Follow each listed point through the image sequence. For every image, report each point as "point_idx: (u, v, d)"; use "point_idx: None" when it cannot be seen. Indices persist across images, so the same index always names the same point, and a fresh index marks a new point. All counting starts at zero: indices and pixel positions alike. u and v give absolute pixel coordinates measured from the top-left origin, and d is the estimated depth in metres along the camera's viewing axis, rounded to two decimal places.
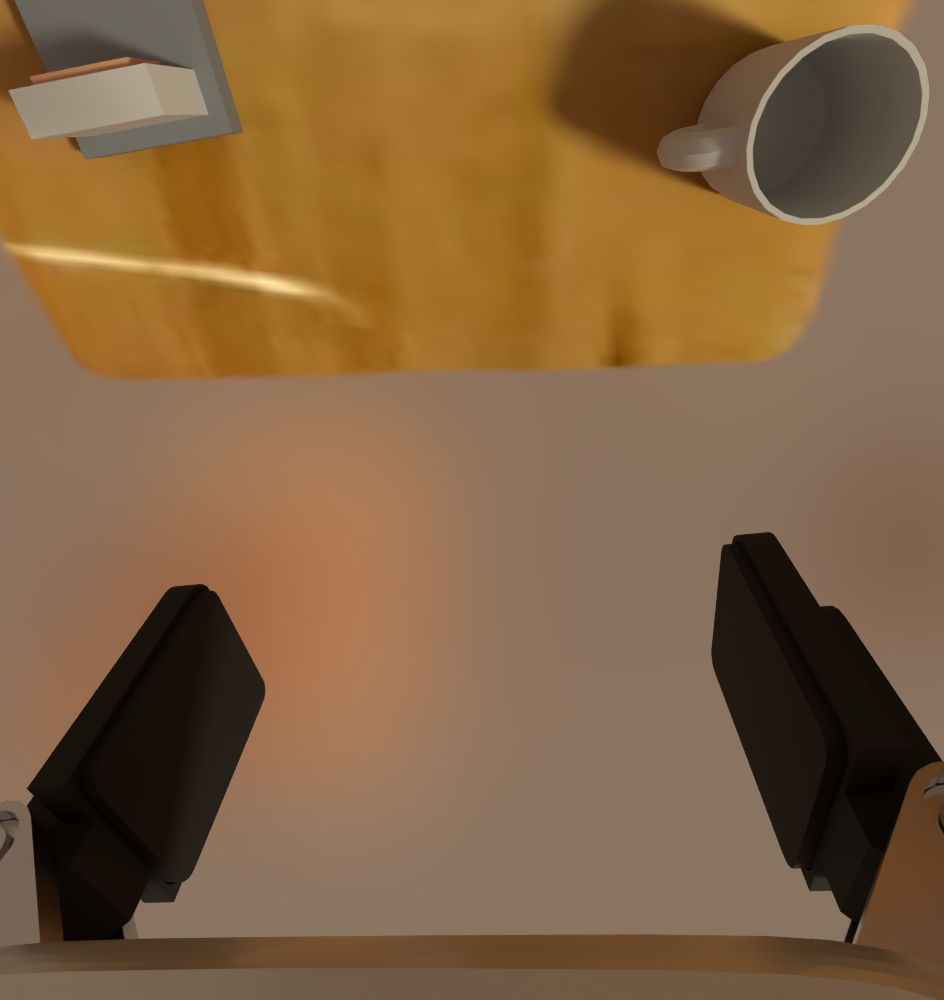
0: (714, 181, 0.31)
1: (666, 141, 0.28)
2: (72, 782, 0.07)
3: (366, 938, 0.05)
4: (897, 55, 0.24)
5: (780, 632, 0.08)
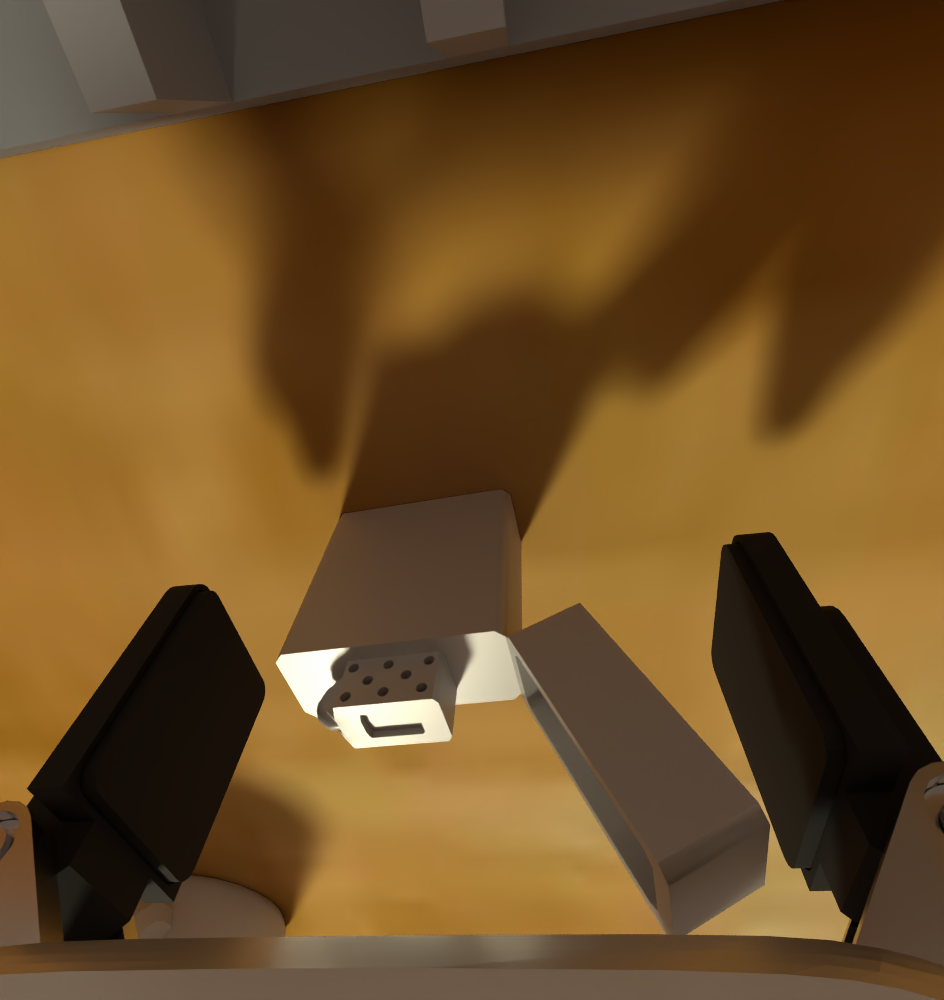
0: None
1: None
2: (72, 782, 0.07)
3: (365, 938, 0.05)
4: None
5: (780, 632, 0.08)
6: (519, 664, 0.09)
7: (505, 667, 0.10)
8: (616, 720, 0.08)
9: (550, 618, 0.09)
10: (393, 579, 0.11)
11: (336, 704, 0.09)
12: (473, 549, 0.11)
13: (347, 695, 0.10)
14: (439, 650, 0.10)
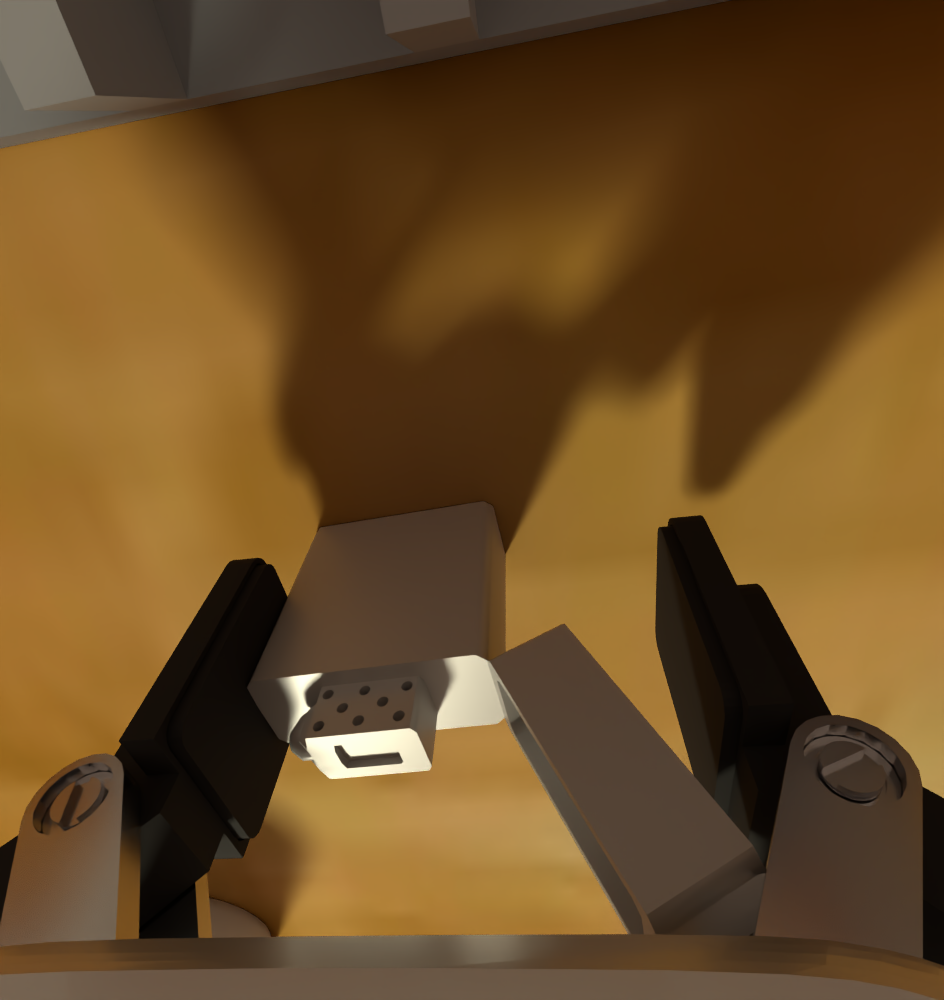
0: None
1: None
2: (160, 735, 0.08)
3: (366, 938, 0.05)
4: None
5: (697, 604, 0.08)
6: (501, 689, 0.09)
7: (487, 691, 0.09)
8: (602, 753, 0.07)
9: (533, 640, 0.09)
10: (371, 598, 0.11)
11: (309, 734, 0.09)
12: (453, 565, 0.11)
13: (320, 724, 0.09)
14: (418, 675, 0.09)
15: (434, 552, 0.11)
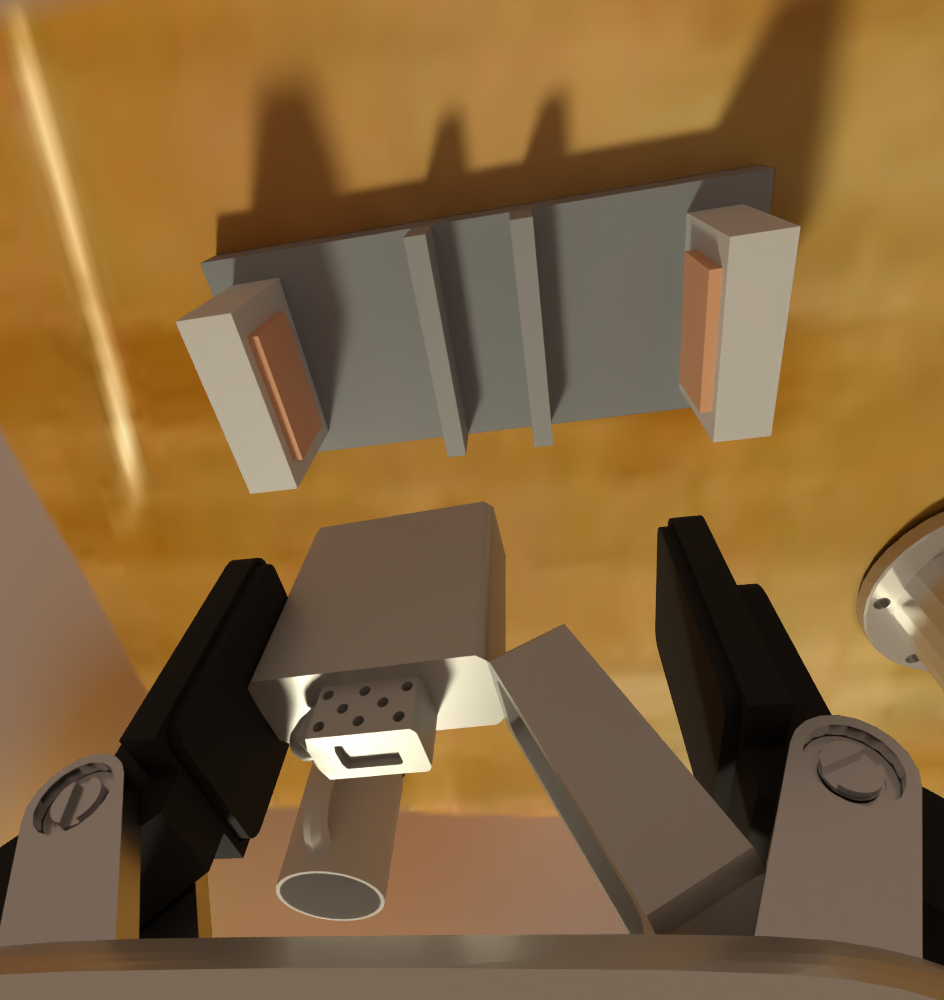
0: None
1: (324, 789, 0.38)
2: (160, 735, 0.08)
3: (365, 937, 0.05)
4: (376, 898, 0.40)
5: (697, 604, 0.08)
6: (501, 689, 0.09)
7: (487, 692, 0.09)
8: (602, 754, 0.07)
9: (533, 641, 0.09)
10: (371, 598, 0.11)
11: (309, 735, 0.09)
12: (454, 566, 0.11)
13: (321, 724, 0.09)
14: (417, 675, 0.09)
15: (434, 553, 0.11)
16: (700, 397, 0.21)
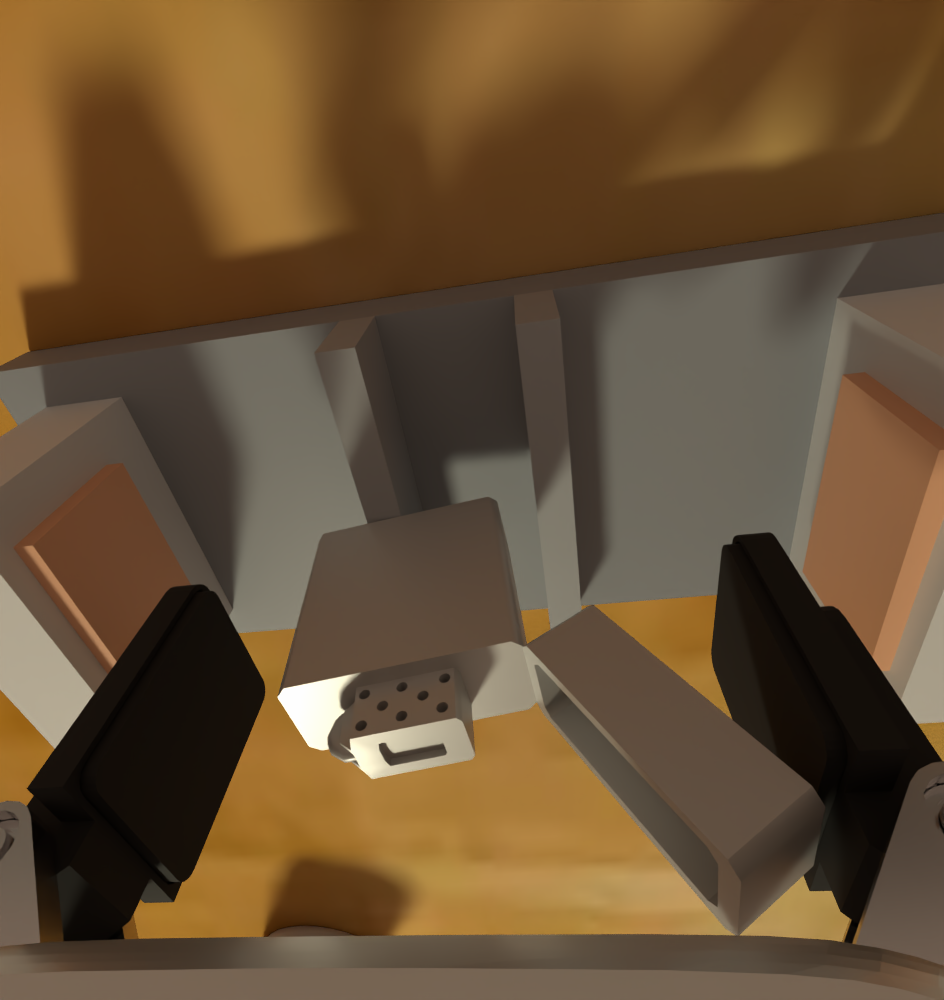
0: None
1: None
2: (72, 782, 0.07)
3: (365, 937, 0.05)
4: None
5: (780, 632, 0.08)
6: (538, 672, 0.09)
7: (521, 677, 0.10)
8: (655, 719, 0.08)
9: (566, 623, 0.09)
10: (393, 597, 0.11)
11: (352, 734, 0.09)
12: (470, 559, 0.11)
13: (362, 723, 0.09)
14: (454, 666, 0.09)
15: (448, 548, 0.12)
16: (872, 649, 0.11)
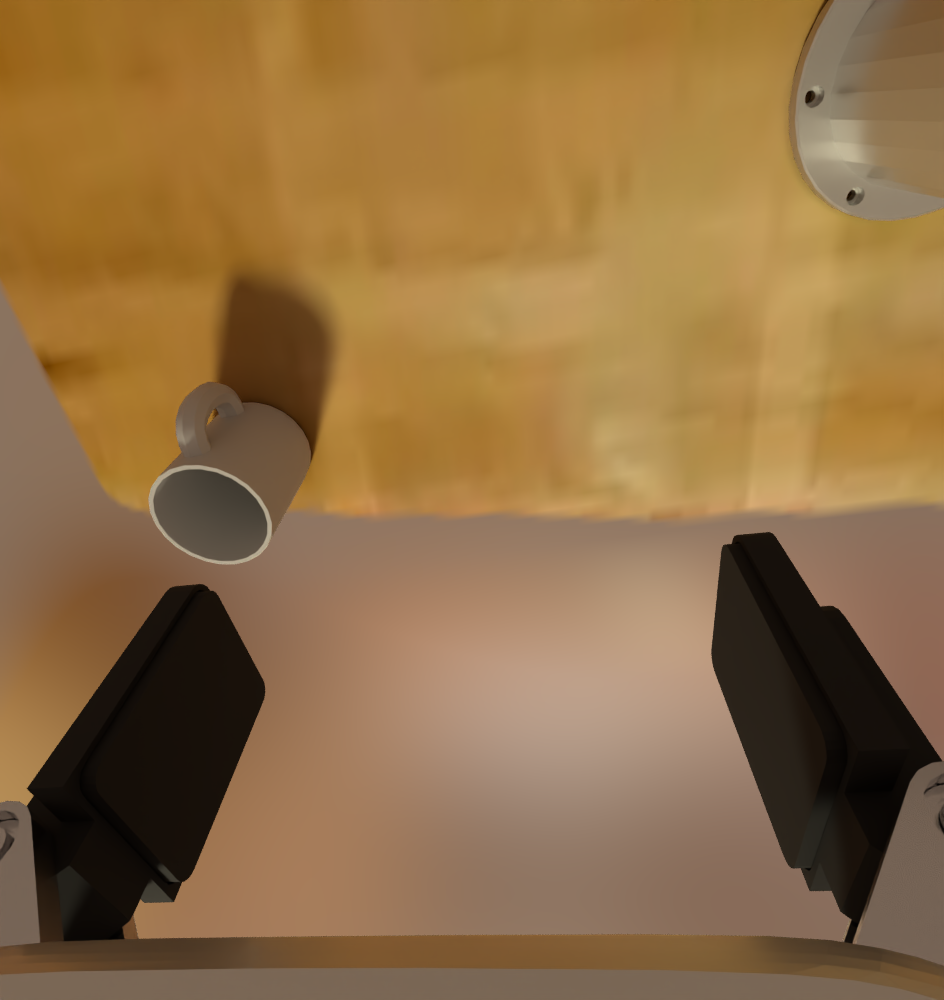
0: None
1: (203, 394, 0.34)
2: (72, 782, 0.07)
3: (365, 937, 0.05)
4: None
5: (780, 632, 0.08)
6: None
7: None
8: None
9: None
10: None
11: None
12: None
13: None
14: None
15: None
16: None
